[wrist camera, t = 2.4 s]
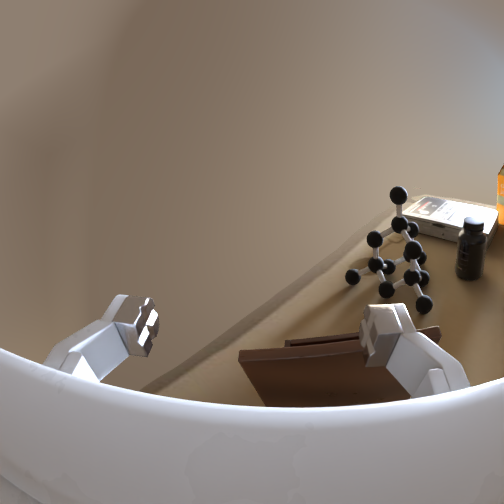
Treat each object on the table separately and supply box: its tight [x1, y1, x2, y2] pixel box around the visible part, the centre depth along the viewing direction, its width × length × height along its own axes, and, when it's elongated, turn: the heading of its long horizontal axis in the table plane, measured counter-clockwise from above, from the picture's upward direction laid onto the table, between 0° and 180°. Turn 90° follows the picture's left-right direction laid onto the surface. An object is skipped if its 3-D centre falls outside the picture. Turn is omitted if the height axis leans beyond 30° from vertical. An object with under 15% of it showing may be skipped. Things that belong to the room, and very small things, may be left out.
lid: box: [238, 326, 442, 408], centre depth 19 cm, size 12×12×1 cm
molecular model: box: [345, 186, 433, 314], centre depth 50 cm, size 18×20×20 cm
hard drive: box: [402, 196, 499, 251], centre depth 68 cm, size 18×27×4 cm
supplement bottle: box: [455, 216, 487, 281], centre depth 47 cm, size 7×7×12 cm
